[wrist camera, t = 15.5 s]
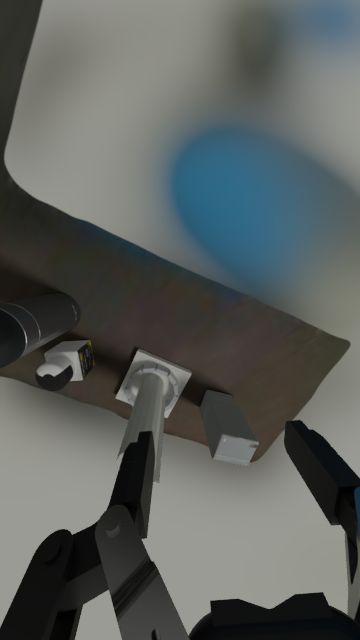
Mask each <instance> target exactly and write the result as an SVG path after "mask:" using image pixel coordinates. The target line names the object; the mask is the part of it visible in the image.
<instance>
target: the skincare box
mask: <svg viewBox="0 0 360 640" xmlns="http://www.w3.org/2000/svg"><path fill="white" fill-rule="evenodd" d="M200 412H201V416H202V420H203V424H204V428H205V432H206V436H207V440H208V444H209V448H210V452H211V456H212V459H213V460H218V461H223V462H228V463H233V464H238V465H243V466H248V464H249V462H250V460H251V458H252V456H253V454H254V452H255V450H256V448H257V446H258V443H259V441H258V440H257V438H256V436H255V434H254V433H253V431H252V429H251V427H250V425H249V424H248V422H247V420H246V418H245V416H244V414H243V413H242V411H241V409H240V407H239V405H238V404H237V402H236V400H235V398H234V396H232V395H228V394H224V393H219V392H215V391H211V390H206V393H205V395H204V398H203V401H202V403H201V406H200Z"/></svg>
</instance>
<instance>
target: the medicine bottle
mask: <svg viewBox="0 0 360 640" xmlns="http://www.w3.org/2000/svg"><path fill="white" fill-rule="evenodd" d="M44 355H45V359H46V363H44V364H43V365H41V366H40V367H39V368H38V369H37V371H36V380H37V383H38V384H39V385H40V386H41V387H42V388H44V389H46V390H49V391H57V390H60V389H62V388H63V387H64V386H65V385H66V384H67V383H68V382H69V381H79V380H83V379H84V377H85V376H86V375H87V374H88V373H89V371H90V370H91V369H92V368H93V367H94V366H95V363H94V358H93V352H92V346H91V341H90V340H83V341H63V342H61V343H59V344H58V345H56V346H55V347H53V348H52V349H50V350H48V351H47V352H45V353H44Z"/></svg>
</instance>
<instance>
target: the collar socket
mask: <svg viewBox="0 0 360 640" xmlns="http://www.w3.org/2000/svg"><path fill="white" fill-rule="evenodd" d="M151 374H152V375H157V376H159V377H160V378H161V379H162V380H163V382H164V390H163V396H165V397H166V402H165V414H164V417H165V418H167V417H168V416H169V414H170V412H171V410H172V408H173V407H174V405H175V403H176V401H177V399H178V398H179V396H180V394H181V392H182V390H183V389H184V387H185V385H186V383H187V382H188V380H189V378H190V376H191V374H192V372H191V371H190V370H188V369H186V368H183V367H181V366H179V365H176V364H174V363H172V362H169V361H167V360H165V359H162V358H160V357H158V356H156V355H153V354H151V353H149V352H146V351H144V350H142V349H138V351H137V353H136V355H135V357H134V359H133V362H132V364H131V366H130V368H129V370H128V372H127V375H126V377H125V379H124V381H123V383H122V385H121V387H120V390H119V392H118V394H117V396H116V399H119V400H121V401H124V402H127V403H129V404H131V405H132V407H133V406H134V403H135V399H136V396H137V393H138V390H139V387H140V383H141V381H142V379H143V378H144V377H145V376H147V375H151Z"/></svg>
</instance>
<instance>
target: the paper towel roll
mask: <svg viewBox="0 0 360 640" xmlns="http://www.w3.org/2000/svg"><path fill="white" fill-rule="evenodd" d="M163 390H164V382H163V380H162V379H161V378H160V377H159V376H157V375H152V374H151V375H147V376H145V377H144V378H143V379H142V381H141V383H140V387H139V390H138V393H137V396H136V399H135V403H134V406H133V409H132V412H131V415H130V419H129V422H128V425H127V428H126V431H125V435H124V438H123V441H122V444H121V448H120V451H119V454H118V457H117V468H118V470H119V468H120V464H121V462H122V457H123V454H124V451H125V449H126V448H127V446H128V445H129V444H130V443H132V442H137V439H138V435H139V432H142V431H152V432H153V439H154V447H155V467H154V476H153V481H154V482H157V483H159V477H160V464H161V451H162V440H163V439H162V438H163V427H164V414H165V402H166V397H165V396H163Z"/></svg>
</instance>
